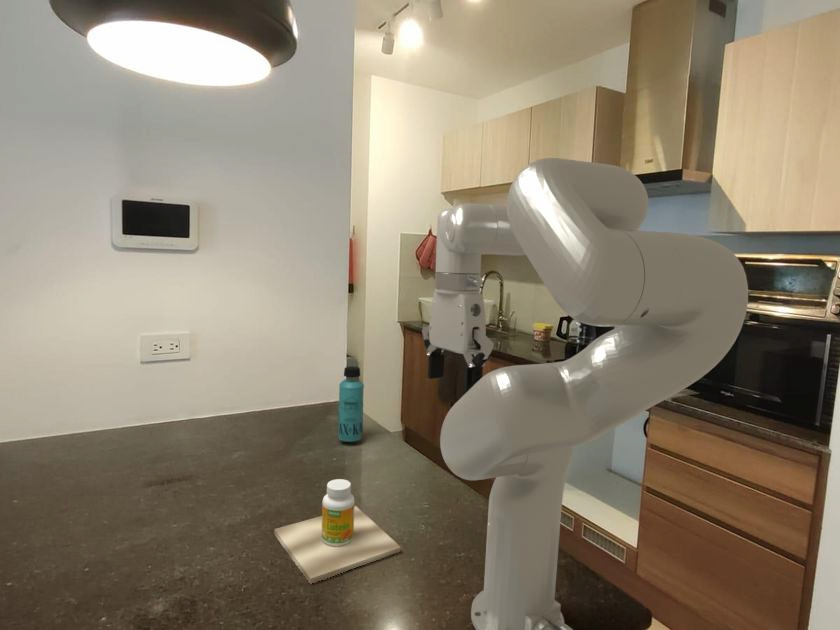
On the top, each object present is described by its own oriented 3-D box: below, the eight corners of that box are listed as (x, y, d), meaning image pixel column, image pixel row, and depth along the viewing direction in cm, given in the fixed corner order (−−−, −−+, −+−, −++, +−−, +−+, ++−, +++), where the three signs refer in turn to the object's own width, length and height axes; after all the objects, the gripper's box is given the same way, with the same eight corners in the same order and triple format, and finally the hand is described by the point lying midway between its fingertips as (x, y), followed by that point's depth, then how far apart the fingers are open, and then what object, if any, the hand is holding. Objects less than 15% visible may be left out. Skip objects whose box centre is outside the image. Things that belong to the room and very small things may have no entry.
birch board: (400, 552, 86) (400, 547, 86) (310, 584, 77) (310, 578, 77) (356, 511, 99) (356, 506, 99) (274, 534, 90) (274, 529, 90)
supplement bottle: (322, 548, 85) (323, 492, 84) (320, 531, 90) (321, 478, 89) (355, 545, 86) (357, 490, 85) (351, 528, 91) (353, 476, 90)
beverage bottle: (334, 439, 135) (335, 365, 133) (358, 436, 138) (360, 363, 136) (341, 448, 130) (342, 371, 127) (366, 445, 132) (368, 369, 130)
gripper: (510, 287, 82) (505, 392, 84) (442, 280, 96) (438, 371, 98) (476, 287, 78) (471, 398, 80) (409, 281, 91) (406, 375, 93)
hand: (453, 383), depth 89 cm, fingers open, 9 cm apart
